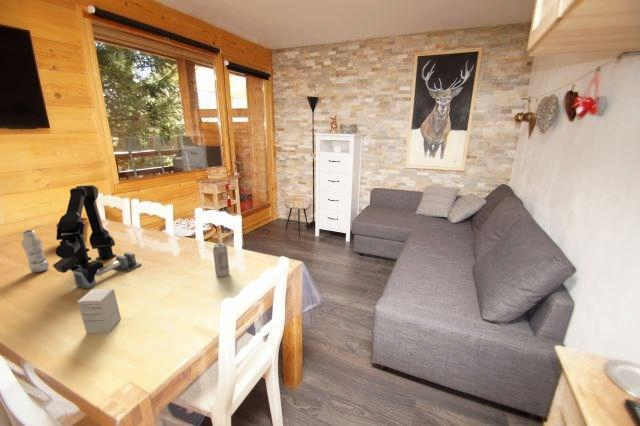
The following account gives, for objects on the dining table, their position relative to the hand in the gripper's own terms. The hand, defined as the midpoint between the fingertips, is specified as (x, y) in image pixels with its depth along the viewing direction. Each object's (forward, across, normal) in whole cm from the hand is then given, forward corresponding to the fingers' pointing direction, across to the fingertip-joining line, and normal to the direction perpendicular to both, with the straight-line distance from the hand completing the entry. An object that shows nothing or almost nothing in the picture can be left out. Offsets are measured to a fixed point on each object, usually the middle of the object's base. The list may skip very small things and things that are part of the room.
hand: (85, 281), depth 121 cm
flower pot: (+2, -56, +30) cm, 63 cm away
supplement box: (+2, +33, -15) cm, 36 cm away
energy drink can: (+2, +48, +29) cm, 56 cm away
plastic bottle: (+2, -34, +1) cm, 34 cm away
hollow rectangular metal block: (+2, 0, 0) cm, 2 cm away
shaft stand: (+2, 0, +13) cm, 13 cm away
